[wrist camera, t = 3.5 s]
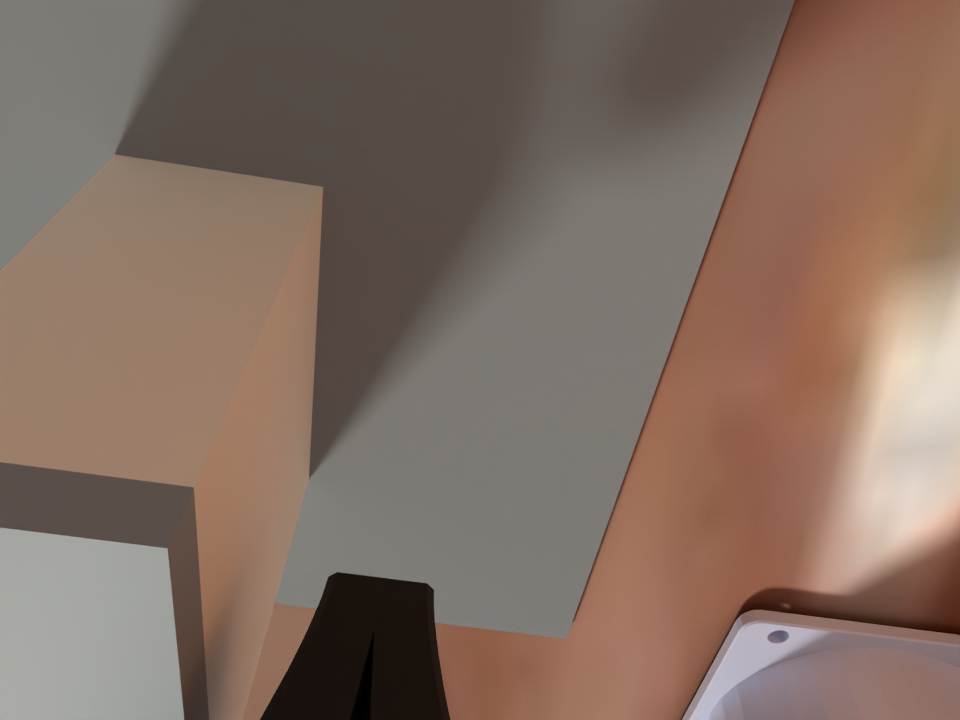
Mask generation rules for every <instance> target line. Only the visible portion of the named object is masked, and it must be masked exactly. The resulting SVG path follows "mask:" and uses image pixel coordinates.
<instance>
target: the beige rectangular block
mask: <svg viewBox="0 0 960 720" xmlns="http://www.w3.org/2000/svg"><path fill="white" fill-rule="evenodd" d="M322 201H323V187H321V186H315V185H308V184H302V183H295V182H289V181H283V180H276V179H270V178H263V177H257V176H251V175H244V174H238V173H231V172H225V171H218V170H212V169H206V168H199V167H193V166H186V165H180V164H174V163H167V162H161V161H154V160H148V159H141V158H135V157H129V156H122V155H116V154H114V155H113V156H112V157H111V158H110V159H109V160H108V161H107V162H106V163H105V164H104V165H103V166H102V167H101V168H100V170H99V171H98V172H97V173H96V174H95V175H94V176H93V177H92V178H91V179H90V180H89V181H88V182H87V183H86V184H85V185H84V186H83V187H82V188H81V189H80V190H79V191H78V192H77V193H76V194H75V195H74V196H73V197H72V198H71V199H70V200H69V201H68V202H67V203H66V204H65V205H64V206H63V207H62V208H61V209H60V210H59V211H58V212H57V213H56V214H55V215H54V216H53V217H52V218H51V219H50V220H49V221H48V222H47V223H46V224H45V225H44V226H43V228H42V229H41V230H40V231H39V232H38V233H37V234H36V235H35V236H34V237H33V238H32V239H31V240H30V241H29V242H28V243H27V244H26V245H25V246H24V247H23V248H22V249H21V250H20V251H19V252H18V253H17V254H16V255H15V256H14V257H13V258H12V259H11V260H10V261H9V262H8V263H7V264H6V265H5V266H4V267H3V268H2V269H1V270H0V720H242V719H243V716H244V712H245V709H246V705H247V701H248V698H249V694H250V691H251V687H252V683H253V680H254V676H255V672H256V669H257V665H258V662H259V658H260V654H261V651H262V647H263V644H264V640H265V636H266V633H267V629H268V626H269V622H270V618H271V615H272V611H273V607H274V604H275V600H276V597H277V593H278V589H279V586H280V582H281V579H282V575H283V571H284V568H285V564H286V560H287V557H288V553H289V550H290V546H291V542H292V539H293V535H294V532H295V528H296V524H297V521H298V517H299V514H300V510H301V506H302V503H303V499H304V495H305V492H306V488H307V485H308V481H309V469H310V448H311V428H312V407H313V386H314V366H315V345H316V325H317V304H318V283H319V263H320V242H321V221H322Z"/></svg>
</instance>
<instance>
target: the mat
mask: <svg viewBox="0 0 960 720" xmlns="http://www.w3.org/2000/svg"><path fill="white" fill-rule="evenodd" d="M794 2H795V0H0V270H1V269H2V268H3V267H4V266H5V265H6V264H7V263H8V262H9V261H10V260H11V259H12V258H13V257H14V256H15V255H16V254H17V253H18V252H19V251H20V250H21V249H22V248H23V247H24V246H25V245H26V244H27V243H28V242H29V241H30V240H31V239H32V238H33V237H34V236H35V235H36V234H37V233H38V232H39V231H40V230H41V229H42V228H43V226H44V225H45V224H46V223H47V222H48V221H49V220H50V219H51V218H52V217H53V216H54V215H55V214H56V213H57V212H58V211H59V210H60V209H61V208H62V207H63V206H64V205H65V204H66V203H67V202H68V201H69V200H70V199H71V198H72V197H73V196H74V195H75V194H76V193H77V192H78V191H79V190H80V189H81V188H82V187H83V186H84V185H85V184H86V183H87V182H88V181H89V180H90V179H91V178H92V177H93V176H94V175H95V174H96V173H97V172H98V171H99V170H100V168H101V167H102V166H103V165H104V164H105V163H106V162H107V161H108V160H109V159H110V158H111V157H112V156H113V155H114V154H116V155H122V156H129V157H135V158H141V159H148V160H154V161H161V162H167V163H174V164H180V165H186V166H193V167H199V168H206V169H212V170H218V171H225V172H231V173H238V174H244V175H251V176H257V177H263V178H270V179H276V180H283V181H289V182H295V183H302V184H308V185H315V186H321V187H323V201H322V221H321V242H320V263H319V283H318V304H317V325H316V345H315V366H314V386H313V407H312V428H311V448H310V469H309V481H308V485H307V488H306V492H305V495H304V499H303V503H302V506H301V510H300V514H299V517H298V521H297V524H296V528H295V532H294V535H293V539H292V542H291V546H290V550H289V553H288V557H287V560H286V564H285V568H284V571H283V575H282V579H281V582H280V586H279V589H278V593H277V597H276V600H275V603H277V604H285V605H293V606H301V607H309V608H317V607H318V605H319V602H320V600H321V597H322V594H323V592H324V588H325V585H326V582H327V579H328V576H330V575H332V574H334V573H336V572H341V573H349V574H357V575H365V576H373V577H381V578H389V579H397V580H405V581H413V582H421V583H427V584H428V585H429V586H430V587H431V588H433V589H434V615H435V623H441V624H449V625H457V626H465V627H474V628H482V629H490V630H498V631H506V632H515V633H523V634H531V635H539V636H548V637H556V638H564V639H566V638H567V636H568V633H569V630H570V627H571V624H572V622H573V619H574V616H575V613H576V610H577V608H578V605H579V602H580V599H581V596H582V594H583V591H584V588H585V585H586V582H587V580H588V577H589V574H590V571H591V568H592V566H593V563H594V560H595V557H596V555H597V552H598V549H599V546H600V543H601V541H602V538H603V535H604V532H605V529H606V527H607V524H608V521H609V518H610V515H611V513H612V510H613V507H614V504H615V501H616V499H617V496H618V493H619V490H620V487H621V485H622V482H623V479H624V476H625V474H626V471H627V468H628V465H629V462H630V460H631V457H632V454H633V451H634V448H635V446H636V443H637V440H638V437H639V434H640V432H641V429H642V426H643V423H644V420H645V418H646V415H647V412H648V409H649V406H650V404H651V401H652V398H653V395H654V393H655V390H656V387H657V384H658V381H659V379H660V376H661V373H662V370H663V367H664V365H665V362H666V359H667V356H668V353H669V351H670V348H671V345H672V342H673V339H674V337H675V334H676V331H677V328H678V326H679V323H680V320H681V317H682V314H683V312H684V309H685V306H686V303H687V300H688V298H689V295H690V292H691V289H692V286H693V284H694V281H695V278H696V275H697V272H698V270H699V267H700V264H701V261H702V258H703V256H704V253H705V250H706V247H707V245H708V242H709V239H710V236H711V233H712V231H713V228H714V225H715V222H716V219H717V217H718V214H719V211H720V208H721V205H722V203H723V200H724V197H725V194H726V191H727V189H728V186H729V183H730V180H731V177H732V175H733V172H734V169H735V166H736V164H737V161H738V158H739V155H740V152H741V150H742V147H743V144H744V141H745V138H746V136H747V133H748V130H749V127H750V124H751V122H752V119H753V116H754V113H755V110H756V108H757V105H758V102H759V99H760V96H761V94H762V91H763V88H764V85H765V83H766V80H767V77H768V74H769V71H770V69H771V66H772V63H773V60H774V57H775V55H776V52H777V49H778V46H779V43H780V41H781V38H782V35H783V32H784V29H785V27H786V24H787V21H788V18H789V15H790V13H791V10H792V7H793V4H794Z"/></svg>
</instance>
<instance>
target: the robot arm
mask: <svg viewBox="0 0 960 720" xmlns="http://www.w3.org/2000/svg"><path fill="white" fill-rule="evenodd" d="M260 720H450V716H449V712H448V707H447V702H446V697H445V692H444V686H443V681H442V674H441V668H440V661H439V655H438V647H437V639H436V629H435V615H434V589H433V588H431V587H430V586H429V585H428V584H427V583H421V582H413V581H405V580H397V579H389V578H381V577H373V576H365V575H357V574H349V573H341V572H336V573H334V574H332V575H330V576H328V579H327V582H326V585H325V588H324V592H323V594H322V597H321V600H320V602H319V605H318V607H317V610H316V612H315V615H314V617H313V619H312V621H311V624H310V626H309V628H308V630H307V632H306V635H305V637H304V639H303V641H302V643H301V645H300V647H299V649H298V651H297V653H296V655H295V657H294V659H293V661H292V663H291V665H290V667H289V669H288V671H287V672H286V674H285V676H284V678H283V680H282V681H281V683H280V685H279V687H278V689H277V690H276V692H275V694H274V696H273V698H272V699H271V701H270V703H269V705H268V707H267V708H266V710H265V712H264V714H263V716H262V717H261V719H260ZM682 720H960V635H957V634H949V633H941V632H934V631H926V630H918V629H910V628H902V627H894V626H886V625H878V624H870V623H862V622H854V621H846V620H838V619H831V618H823V617H815V616H807V615H799V614H791V613H783V612H775V611H767V610H751V611H747V612H745V613H743V614H742V615H740V616H739V617H738V619H737V620H736V621H735V623H734V625H733V627H732V629H731V630H730V632H729V634H728V636H727V638H726V640H725V641H724V643H723V645H722V647H721V649H720V651H719V652H718V654H717V656H716V658H715V660H714V662H713V664H712V665H711V667H710V669H709V671H708V673H707V675H706V676H705V678H704V680H703V682H702V684H701V686H700V687H699V689H698V691H697V693H696V695H695V697H694V698H693V700H692V702H691V704H690V706H689V708H688V709H687V711H686V713H685V715H684V717H683V719H682Z"/></svg>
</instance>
